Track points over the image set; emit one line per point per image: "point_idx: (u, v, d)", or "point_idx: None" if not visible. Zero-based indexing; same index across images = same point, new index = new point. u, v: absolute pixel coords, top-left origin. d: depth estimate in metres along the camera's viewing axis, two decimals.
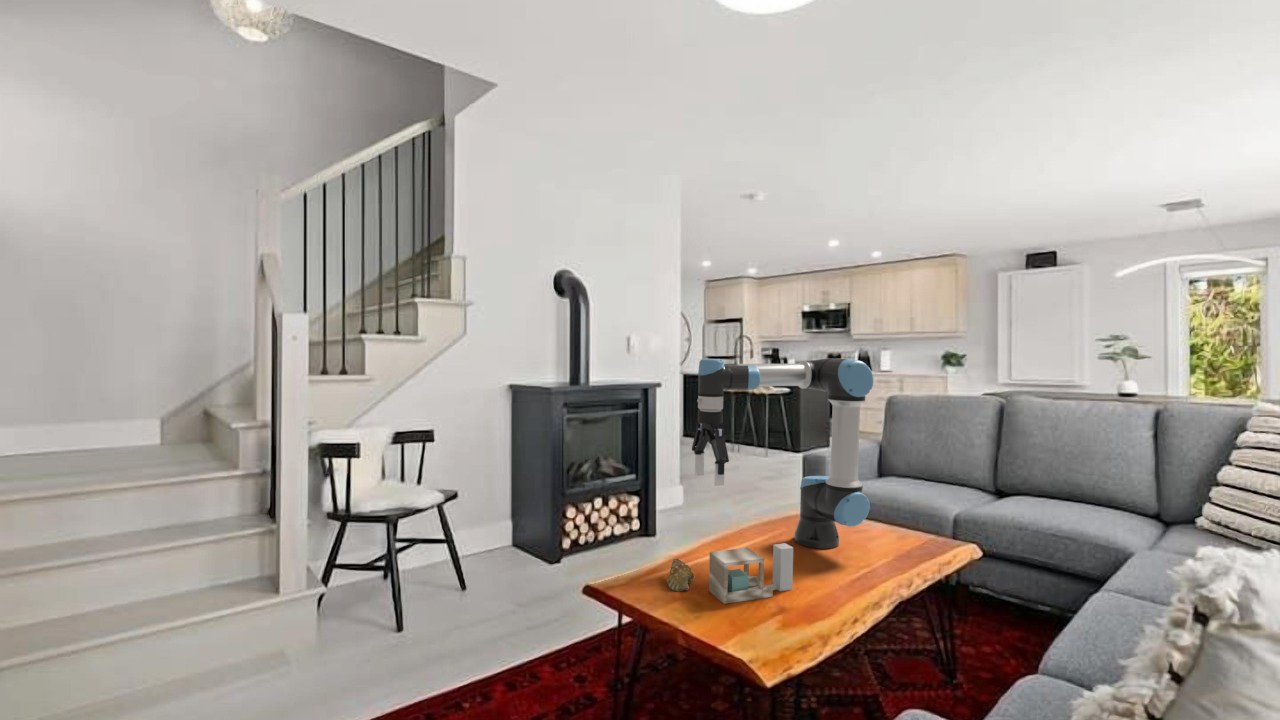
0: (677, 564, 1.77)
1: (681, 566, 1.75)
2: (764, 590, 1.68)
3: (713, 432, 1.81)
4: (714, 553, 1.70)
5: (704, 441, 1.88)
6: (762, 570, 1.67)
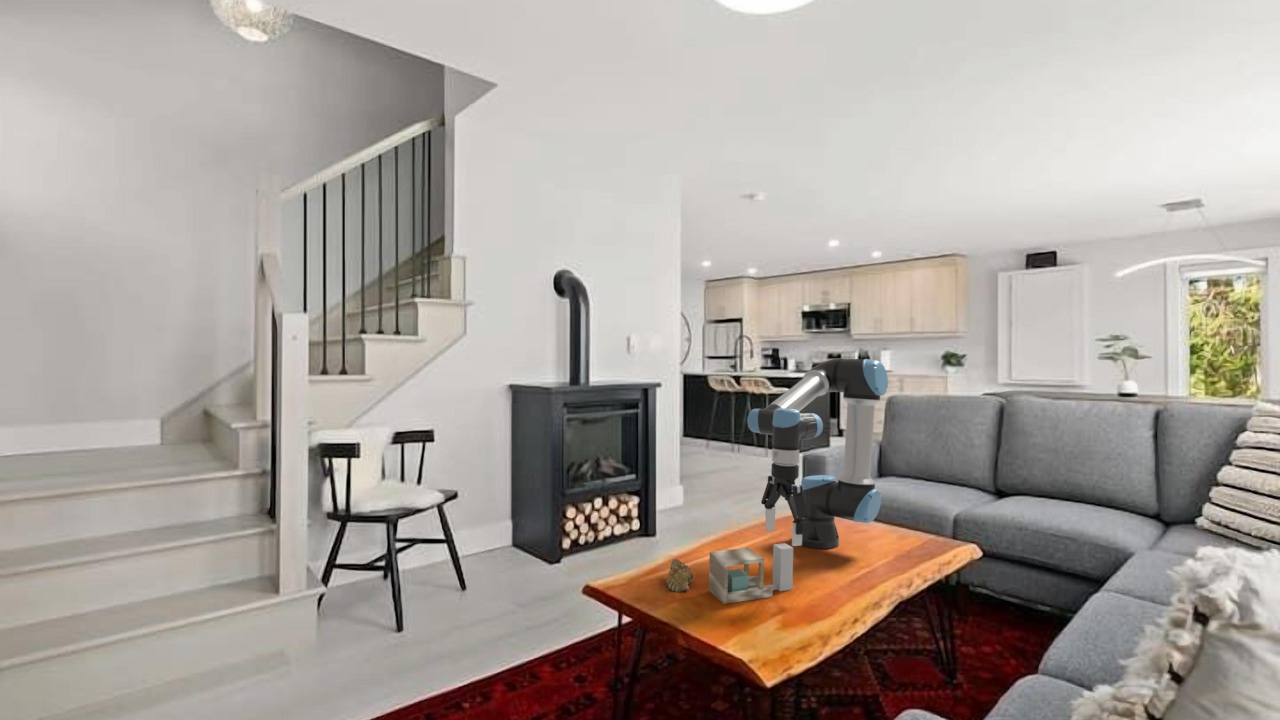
0: (677, 564, 1.77)
1: (681, 566, 1.74)
2: (764, 590, 1.68)
3: (790, 488, 1.70)
4: (714, 553, 1.70)
5: (777, 495, 1.77)
6: (762, 570, 1.67)
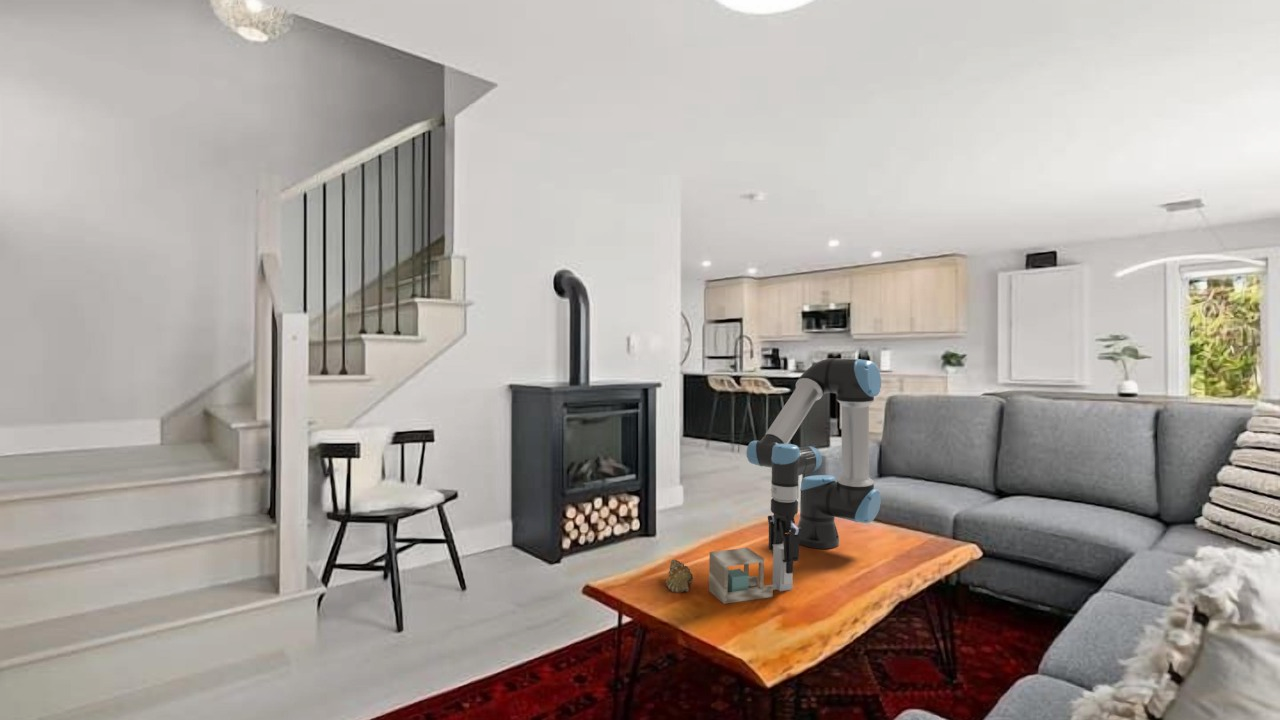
0: (676, 565, 1.77)
1: (680, 567, 1.74)
2: (764, 590, 1.68)
3: (788, 525, 1.70)
4: (714, 553, 1.70)
5: (780, 534, 1.76)
6: (762, 570, 1.67)
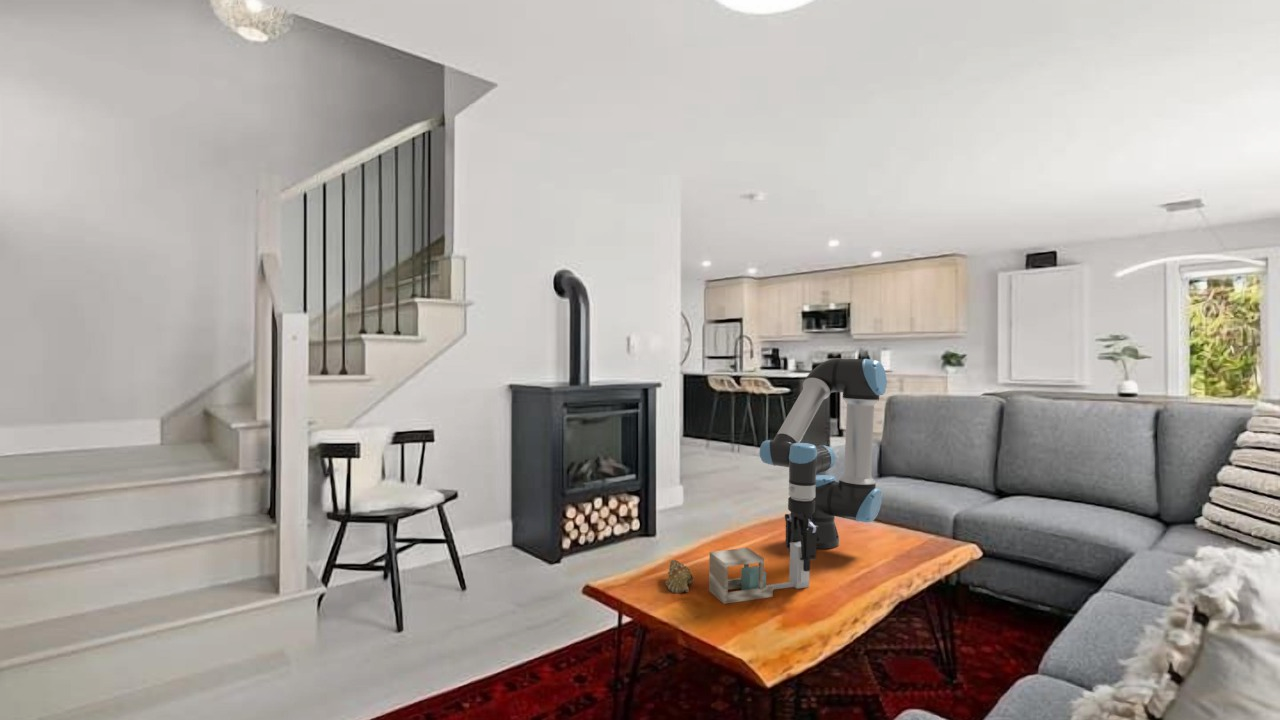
0: (676, 565, 1.76)
1: (680, 567, 1.74)
2: (764, 590, 1.68)
3: (806, 524, 1.72)
4: (714, 553, 1.70)
5: (797, 533, 1.78)
6: (762, 570, 1.67)
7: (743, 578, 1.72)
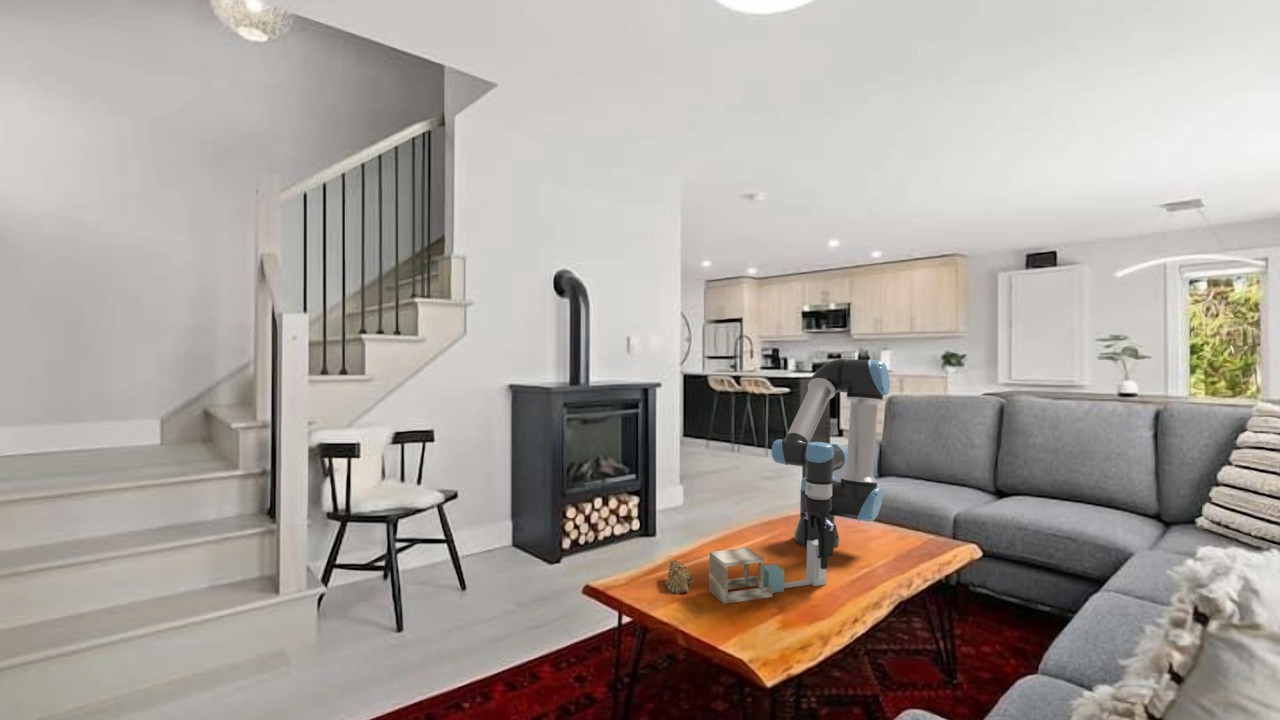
0: (676, 566, 1.76)
1: (680, 568, 1.73)
2: (764, 590, 1.68)
3: (823, 522, 1.74)
4: (714, 553, 1.70)
5: (814, 531, 1.80)
6: (762, 570, 1.67)
7: None
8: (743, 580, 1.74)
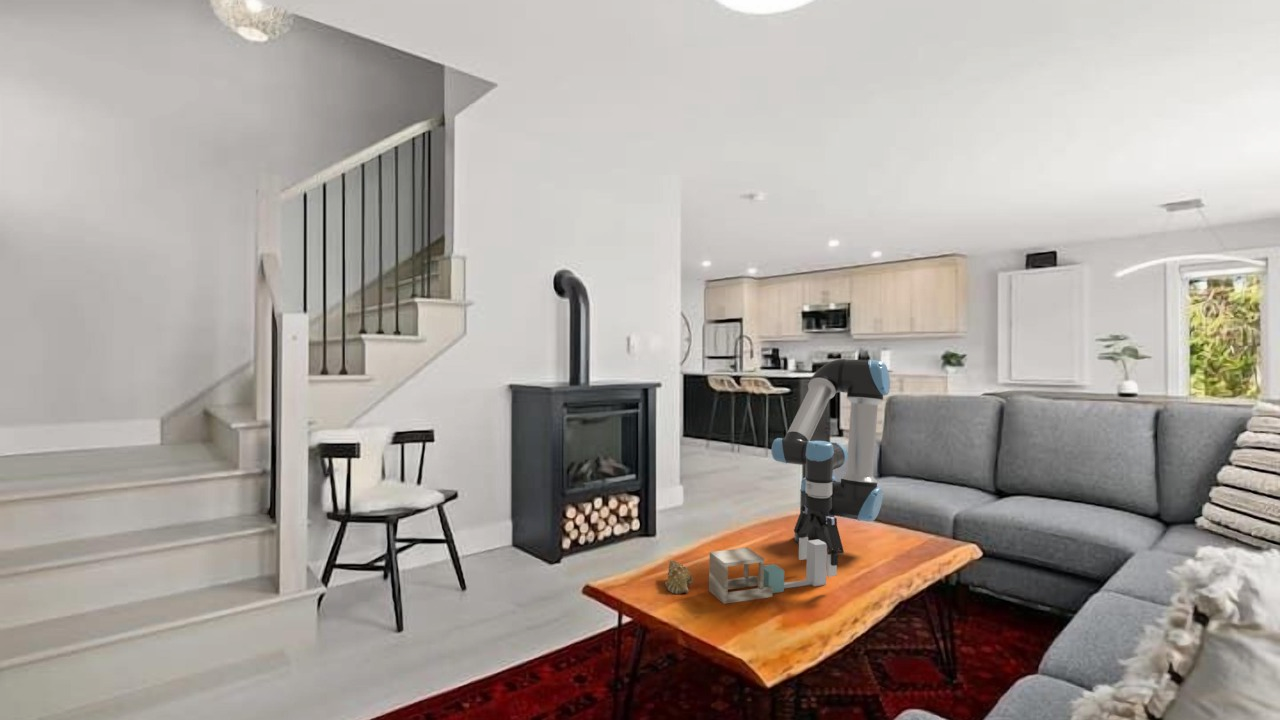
0: (675, 566, 1.76)
1: (680, 568, 1.73)
2: (764, 590, 1.68)
3: (824, 520, 1.74)
4: (714, 553, 1.70)
5: (810, 525, 1.82)
6: (762, 570, 1.67)
7: None
8: (743, 580, 1.74)
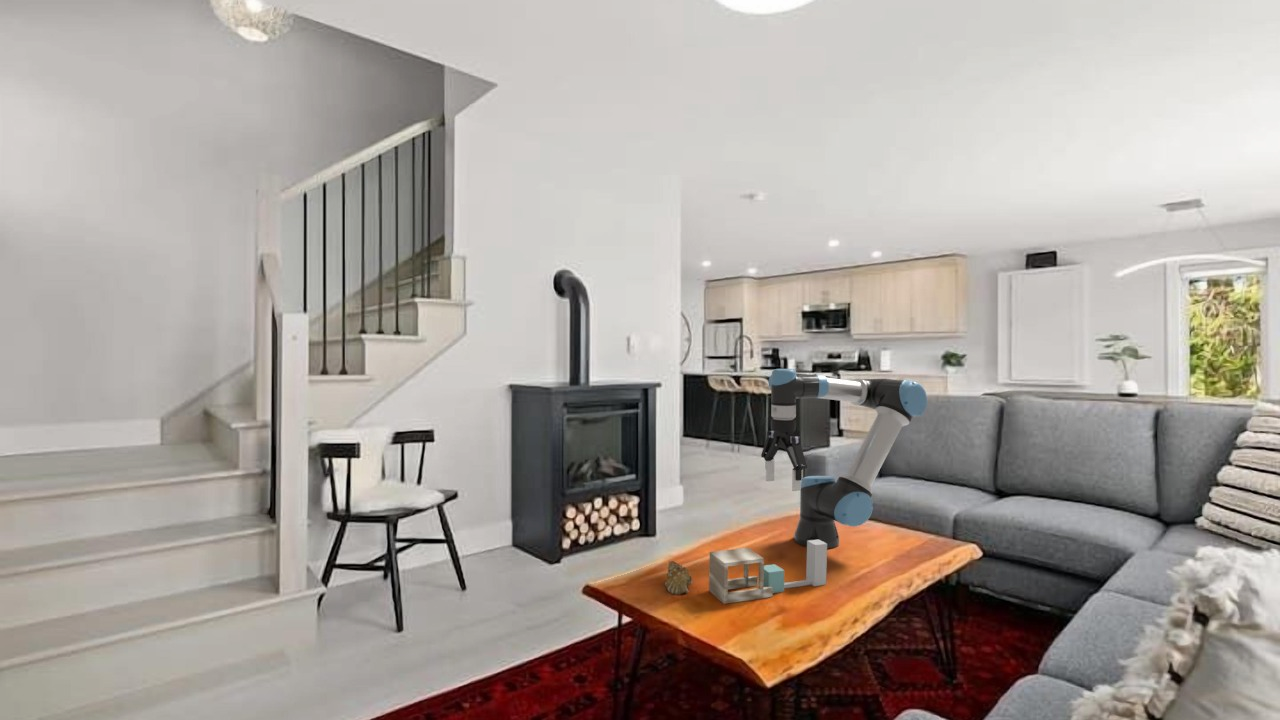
0: (674, 567, 1.75)
1: (679, 569, 1.73)
2: (764, 590, 1.68)
3: (789, 440, 1.88)
4: (714, 553, 1.70)
5: (776, 448, 1.95)
6: (762, 570, 1.67)
7: None
8: (743, 580, 1.74)
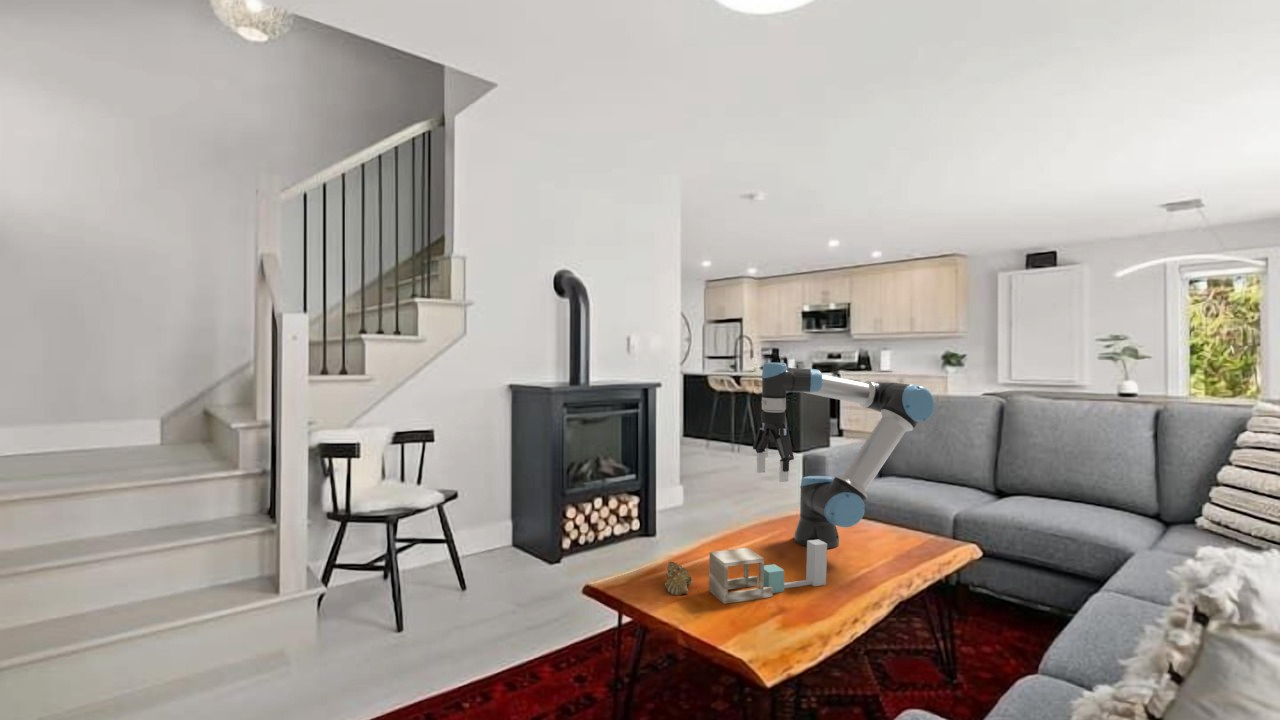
0: (674, 567, 1.75)
1: (679, 569, 1.72)
2: (764, 590, 1.68)
3: (777, 431, 1.92)
4: (714, 553, 1.70)
5: (766, 440, 2.00)
6: (762, 570, 1.67)
7: None
8: (743, 580, 1.74)
